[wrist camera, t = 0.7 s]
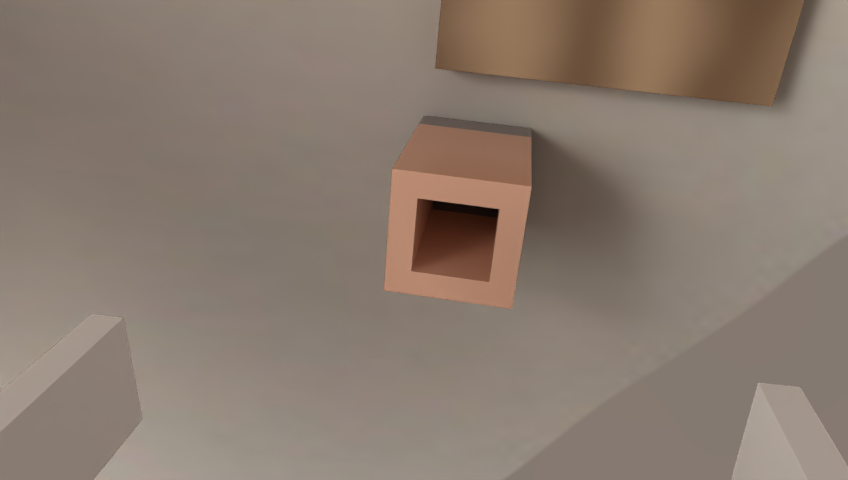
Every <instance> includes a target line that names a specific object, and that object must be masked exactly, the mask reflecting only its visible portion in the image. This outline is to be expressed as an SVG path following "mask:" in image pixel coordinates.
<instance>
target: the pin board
mask: <svg viewBox="0 0 848 480" xmlns="http://www.w3.org/2000/svg"><path fill="white" fill-rule="evenodd" d="M804 1H805V0H441V10H440V21H439V32H438V43H437V54H436V65H435V68H437V69H446V70H455V71H464V72H473V73H481V74H490V75H499V76H508V77H517V78H526V79H535V80H543V81H552V82H561V83H570V84H579V85H588V86H597V87H605V88H614V89H623V90H632V91H641V92H650V93H658V94H667V95H676V96H685V97H694V98H703V99H712V100H720V101H729V102H738V103H747V104H756V105H765V106H772V105H773V102H774V99H775V96H776V92H777V89H778V86H779V83H780V79H781V76H782V73H783V70H784V66H785V63H786V60H787V56H788V53H789V50H790V47H791V43H792V40H793V37H794V34H795V30H796V27H797V24H798V21H799V17H800V14H801V11H802V7H803V4H804Z"/></svg>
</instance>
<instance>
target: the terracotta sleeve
mask: <svg viewBox="0 0 848 480" xmlns="http://www.w3.org/2000/svg"><path fill="white" fill-rule="evenodd" d="M531 188H532V162H531V128H523V127H514V126H506V125H498V124H489V123H481V122H473V121H464V120H456V119H448V118H439V117H431V116H423V118H422V120H421V121H420V123H419V125H418V126H417V128H416V130H415V131H414V133H413V135H412V136H411V138H410V140H409V141H408V143H407V145H406V146H405V148H404V150H403V152H402V153H401V155H400V157H399V158H398V160H397V162H396V163H395V165H394V167H393V168H392V180H391V194H390V209H389V224H388V238H387V253H386V268H385V283H384V290H385V291H392V292H399V293H406V294H413V295H420V296H426V297H433V298H440V299H447V300H454V301H461V302H468V303H475V304H481V305H488V306H495V307H502V308H509V309H512V306H513V299H514V293H515V287H516V281H517V275H518V269H519V262H520V256H521V250H522V244H523V238H524V232H525V225H526V219H527V213H528V207H529V201H530V195H531Z"/></svg>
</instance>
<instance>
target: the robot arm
mask: <svg viewBox="0 0 848 480" xmlns="http://www.w3.org/2000/svg"><path fill="white" fill-rule="evenodd" d="M141 420H142V414H141V408H140V403H139V397H138V392H137V387H136V381H135V376H134V370H133V365H132V360H131V354H130V349H129V344H128V338H127V333H126V327H125V322H124V318H123V317H113V316H104V315H94V314H91V315H89V316H88V317H87V318H86V319H85V320H84V321H82V322H81V323H80V324H79V325H78V326H76V327H75V328H74V329H73V330H72V331H71V332H69V333H68V334H67V335H66V336H65V337H64V338H62V339H61V340H60V341H59V342H58V343H56V344H55V345H54V346H53V347H52V348H51V349H49V350H48V351H47V352H46V353H45V354H44V355H42V356H41V357H40V358H39V359H38V360H37V361H35V362H34V363H33V364H32V365H31V366H29V367H28V368H27V369H26V370H25V371H24V372H22V373H21V374H20V375H19V376H18V377H17V378H15V379H14V380H13V381H12V382H11V383H9V384H8V385H7V386H6V387H5V388H4V389H2V390H1V391H0V480H94V478H95V477H96V476H97V475H98V474H99V472H100V471H101V470H102V469H103V467H104V466H105V465H106V464H107V462H108V461H109V460H110V459H111V458H112V456H113V455H114V454H115V453H116V451H117V450H118V449H119V448H120V446H121V445H122V444H123V443H124V441H125V440H126V439H127V438H128V437H129V435H130V434H131V433H132V432H133V430H134V429H135V428H136V427H137V425H138V424H139V423H140V422H141ZM731 480H848V466H847V464H846V462H845V461H844V459H843V458H842V456H841V454H840V453H839V451H838V449H837V448H836V446H835V444H834V443H833V441H832V439H831V438H830V436H829V434H828V433H827V431H826V429H825V428H824V426H823V424H822V423H821V421H820V419H819V418H818V416H817V414H816V413H815V411H814V409H813V408H812V406H811V404H810V403H809V401H808V399H807V398H806V396H805V394H804V393H803V391H802V389H801V388H800V387H797V386H787V385H778V384H768V383H758V385H757V388H756V392H755V395H754V399H753V403H752V406H751V410H750V413H749V417H748V420H747V424H746V428H745V431H744V435H743V438H742V442H741V445H740V449H739V453H738V456H737V460H736V463H735V467H734V471H733V474H732V478H731Z"/></svg>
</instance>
